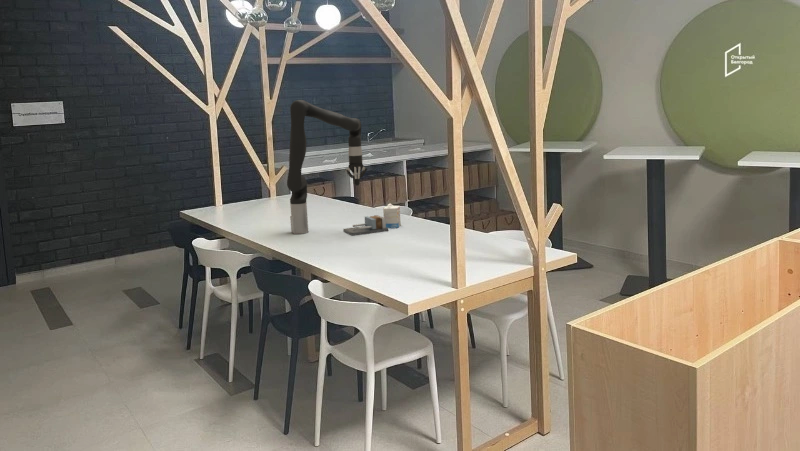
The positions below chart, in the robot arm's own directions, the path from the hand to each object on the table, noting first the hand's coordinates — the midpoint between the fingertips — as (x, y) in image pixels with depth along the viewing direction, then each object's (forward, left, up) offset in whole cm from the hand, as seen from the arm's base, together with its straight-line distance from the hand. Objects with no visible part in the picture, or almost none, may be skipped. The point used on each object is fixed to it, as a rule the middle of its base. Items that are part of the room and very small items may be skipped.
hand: (356, 185), depth 382 cm
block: (+10, 0, -25) cm, 27 cm away
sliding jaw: (+3, 0, -25) cm, 25 cm away
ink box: (+22, +3, -27) cm, 35 cm away
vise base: (+4, 0, -27) cm, 27 cm away
